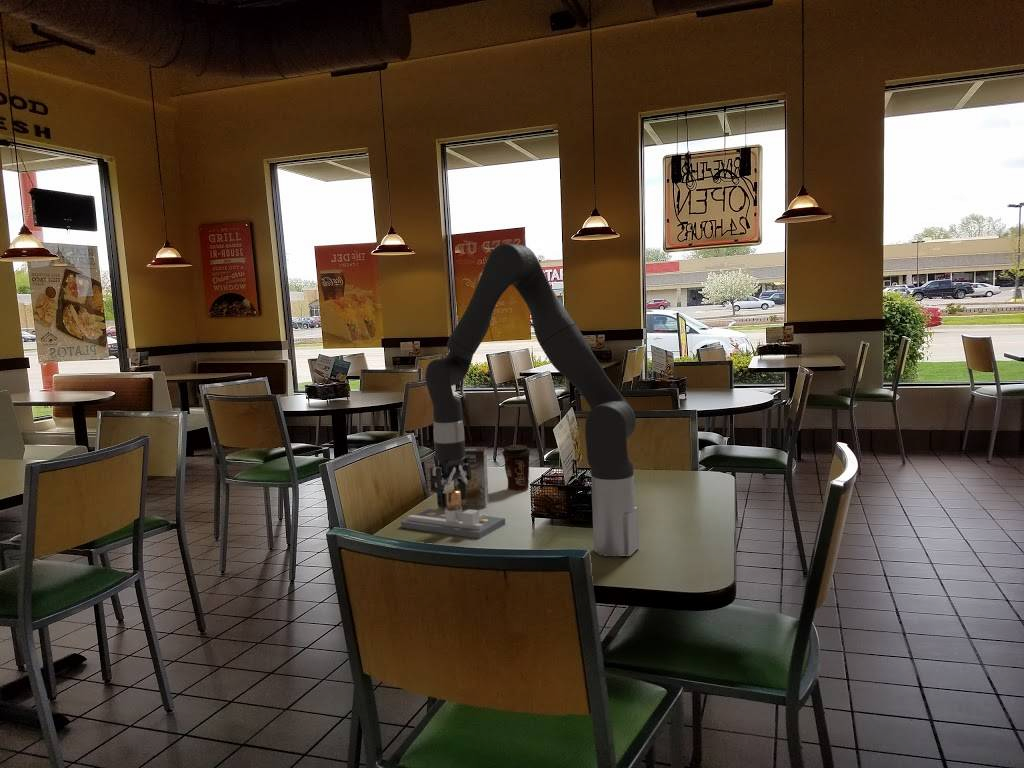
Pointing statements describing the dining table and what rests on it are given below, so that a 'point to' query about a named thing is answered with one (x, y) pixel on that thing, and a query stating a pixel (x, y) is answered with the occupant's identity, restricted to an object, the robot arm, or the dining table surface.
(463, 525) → the plate
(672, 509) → the dining table surface
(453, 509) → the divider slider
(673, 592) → the dining table surface
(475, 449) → the coffee box
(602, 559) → the dining table surface
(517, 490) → the coffee cup
